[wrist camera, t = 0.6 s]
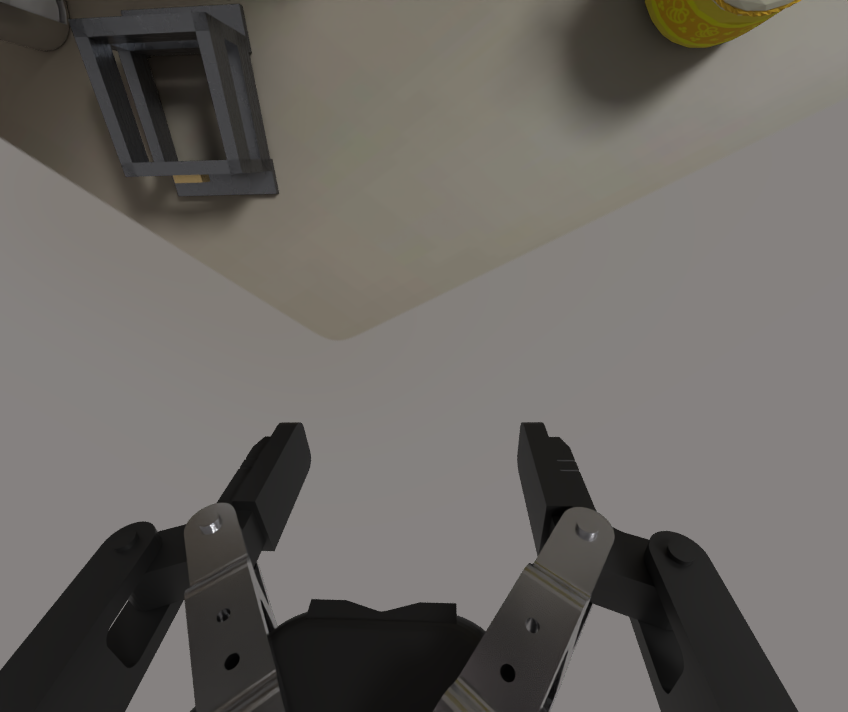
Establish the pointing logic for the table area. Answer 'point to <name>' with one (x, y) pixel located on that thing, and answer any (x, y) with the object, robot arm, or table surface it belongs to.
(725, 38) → the mug
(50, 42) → the silver metal cylinder
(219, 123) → the collar bracket
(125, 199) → the table surface
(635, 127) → the table surface
